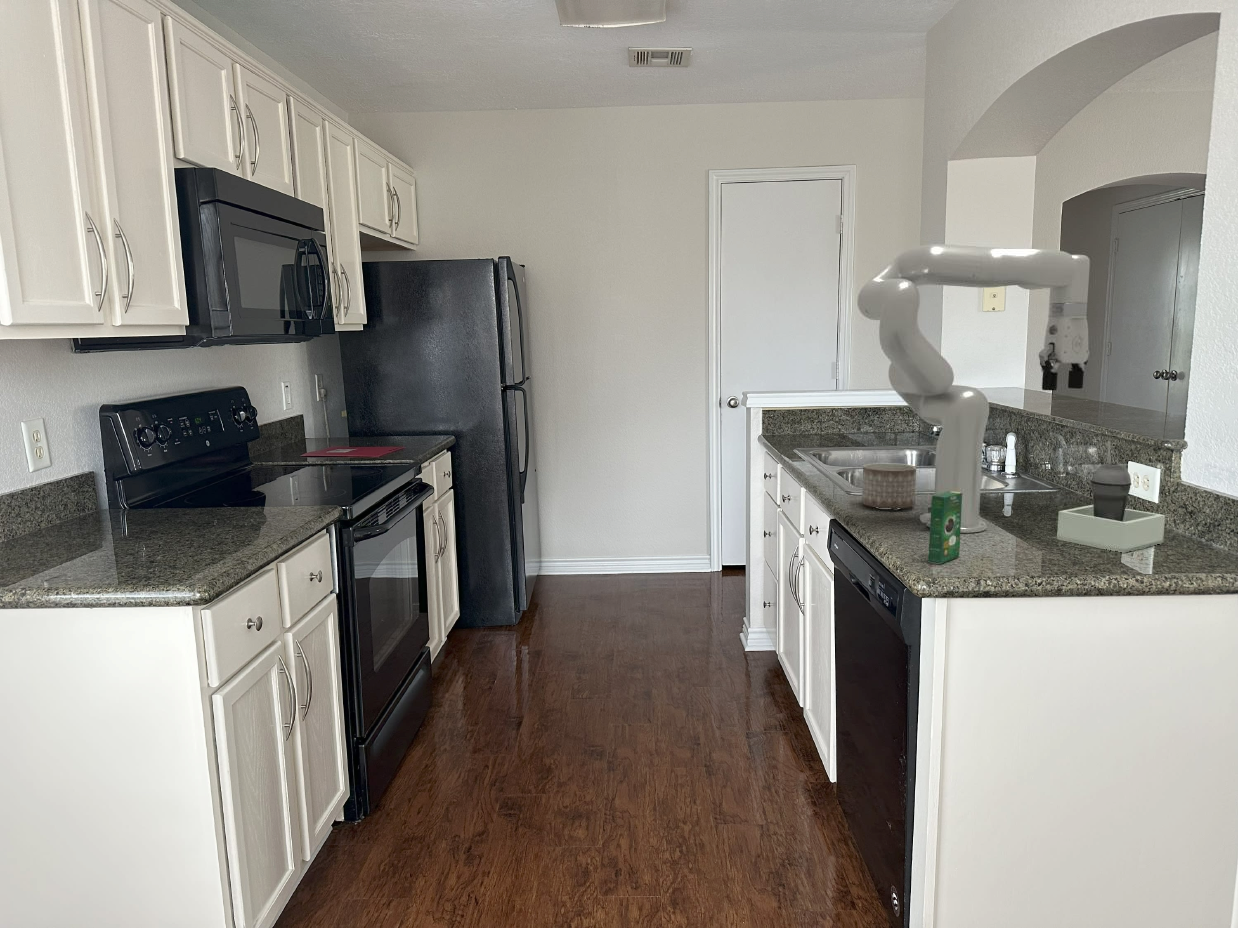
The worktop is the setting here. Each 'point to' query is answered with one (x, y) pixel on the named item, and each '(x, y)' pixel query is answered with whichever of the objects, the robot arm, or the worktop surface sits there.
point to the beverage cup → (1110, 490)
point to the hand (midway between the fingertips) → (1062, 389)
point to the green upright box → (945, 527)
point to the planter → (889, 485)
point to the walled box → (1111, 529)
